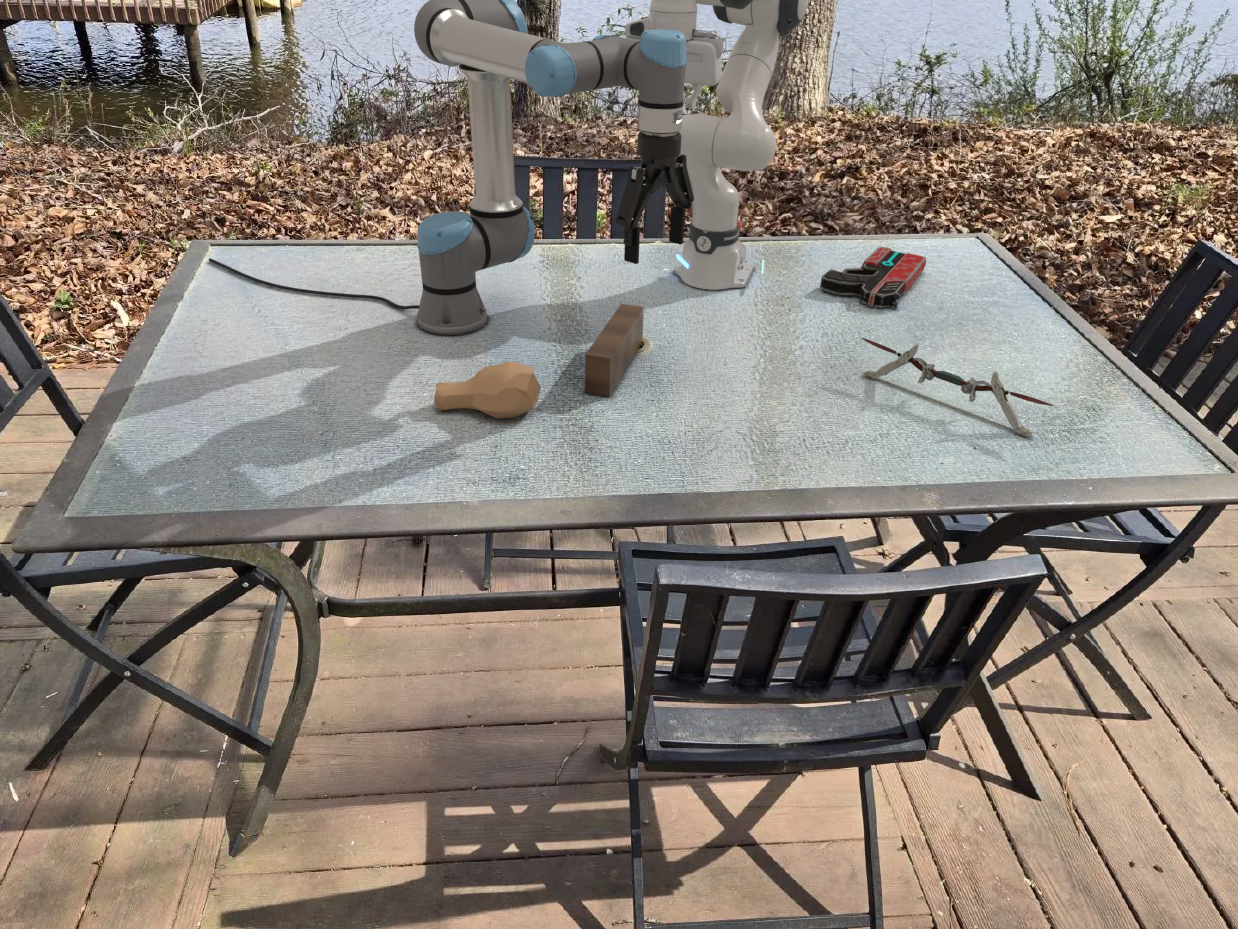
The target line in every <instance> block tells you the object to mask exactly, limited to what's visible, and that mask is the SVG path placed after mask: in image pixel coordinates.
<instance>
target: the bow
mask: <svg viewBox="0 0 1238 929" xmlns="http://www.w3.org/2000/svg"><path fill="white" fill-rule="evenodd" d="M861 340H862V341H864V342H866V343H868V344H870V345H872V346H874V347H876V348H878V349H880V350H882V351H885V352H888V353H890V354H893V355H896V356H897V357H898V358H897V359H896V360H892V361H890V362H888V363H885V364H884V365H882V366H881V367H879V368H878V369H877V370H874V371H873V370H865V371H864V372H863V375H864V376H865V377H866V378H869V379H875V380H879V381H881V382H882V383H886V384H889V385H891V386H894V387H897V388H900V389H902V390H905V391H908V392H910V393H913V394H915V395H918V396H921V397H923V398H926V399H928V400H931V401H934V402H937V403H940V404H942V405H945V406H947V407H950V408H953V409H955V410H957V411H962V412H964V413H966V414H969V415H970V416H973V417H977V418H978V419H979V418H980V419H982V420H984V421H987V422H990V423H993V424H994V425H997V426H1000V427H1003V428H1006V429H1008V430H1011V431H1014V432H1015V433H1017V434H1018V435H1020V436H1023V437H1030V436H1031V435H1032V434H1033V432H1031V431H1030V430H1028V429H1027V428H1026V427H1025V426H1023V425H1022V424H1021V420H1020V418H1019V415H1018V414H1017V412H1016V410H1015V408H1014V407H1013V405H1012V403H1011V402H1010V401H1009V399H1008V397H1007V396H1008V395H1010V396H1012V397H1015V398H1017V399H1021V400H1022V401H1023V400H1024V401H1027V402H1031V403H1033V404H1038V405H1043V406H1049V407H1054V406H1055V404H1052V403H1049V402H1047V401H1044V400H1041V399H1038V398H1035V397H1033V396H1029V395H1025V394H1022V393H1019V392H1014V391H1009V390H1006V389H1005V388H1004V385H1005V384H1003V383H1002V381H1001V379H1000V377H999V372H998V371H997V370H995V371H994V372H992V375H991V378H990V382H988V381H986V380H977V379H975V378H974V377H971V378H970V379H968V380H967V381H966V380H965V379H964V378H963V377H961V376H960V375H957V374H954V373H952V372H948V371H945V370H937V369H935V366H936V365H935V363H929V364H928V363H927V362H926V361H925V360H924V359H923V358H920V357H915V355H917V352H918V349H919V343H915V344H914V345H913V346H912V347H911V348H910V349H908V350H906V351H904V352H903V353H901V352H897V351H896V350H894V349H892V348H890V347H888V346H886V345H884V344H881V343H878V342H876V341H873V340H870V339H866V338H865V337H861ZM907 364H912V366H914V367H915V368H916V369H918V371H920V372H921V374H920V377H919V378H918V380H917V383H919V384H921V385H923V383H925V380H927V381H932V380H933V379H934V378H936V379H939V380H942V381H944V382H947V383H950V384H953V385H955V386H958V387H961V388H960V390H961V392H962V393H963V394H964V395H965V394H966V395H969V396H968V402H970V403H973V402H975V401H976V397H977V395H976V392H991V393H992V394H993V396H994V398H995V399H996V400H997V402H998V403H999V405H1000V408H1001V410H1002V413H1003V414H1004V416H1005V417H1006V420H1007V422H1008V424H1009V425H1010V427H1008V426H1006V425H1003V424H1001V423H998V422H995V421H993V420H990V419H987V418H984V417H983V416H979V415H976V414H973V413H971V412H969V411H966V410H964V409H961V408H958V407H955V406H952V405H950V404H947V403H945V402H942V401H939V400H937V399H934V398H932V397H929V396H926V395H923V394H920V393H918V392H915V391H913V390H910V389H907V388H904V387H902V386H899V385H897V384H895V383H892V382H889V381H886V380H883V379H881V377H883V376H888V375H889V374H891V373H892V372H893V371H895V370H896V369H898V368H901V367H902V366H904V365H907Z"/></svg>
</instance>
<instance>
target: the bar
mask: <svg viewBox="0 0 1238 929" xmlns="http://www.w3.org/2000/svg"><path fill="white" fill-rule="evenodd" d="M644 312H645V306H642V305H634V304H626V303H620V304H619V306H618V308H617V309H616V310H615V312H614V313H613V315H612V316H611V317H610V319H609V320H608V322H607V323H606V324H605V326H604V327H603V329H602V330H601V331H600V333H599V334H598V336H597V337H596V339H595V340H594V341H593V343H592V344H591V346H590V347H589V348H588V350H587V351H586V353H585V354H584V394H587V395H594V396H599V397H600V396H601V397H605V398H610V397H611V396H612V394H613V392H614V391H615V389H616V387H617V386H618V384H619V382H620V381H621V379H622V377H623V376H624V374H625V373H626V371H627V369H628V367H629V365H630V364H631V362H632V361H633V359H634V357H635V356H636V354H637V352H638V351H639V349H640V348H641V346H642V344H643V338H644V337H643V336H644V335H643V334H644V317H645V316H644V314H645V313H644Z"/></svg>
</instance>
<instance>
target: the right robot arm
mask: <svg viewBox="0 0 1238 929" xmlns="http://www.w3.org/2000/svg"><path fill="white" fill-rule="evenodd" d="M809 1H810V0H651V2H650V4H649V15H648V16H644V17H641V18H640V19H637V20H634V21H631V22H628V23H626V24H625V25H624V33H625V35H626V38H628V39H634V40H639V41H641V35H642V33H643V32H644V31H647V30H654V29H665V30H675V31H679V32H681V33H683V34H684V35H685V38H686V59H687V64H686V71H685V82H684V84H687V85H691V91H693V92H692V94H691V96H689V97H687V98H685V106H684V107H685V109H690V110H693V109H695V108H696V106H697V98H698V97H699V96H700V94H701V92H702V91H703V88H704V87H703V86H706V87H713V86H715V85H717V86H716V96H717V100H718V102H719V104H720V105H721V106H722V108H724V110H725V111H727V112H728V113H729V114H730V115H729V116H717V115H709V114H704V113H693V114H682V129H681V130H680V131H679V133H680V134H681V136H682V137H681V153H680V154H684V155H686V157H687V171H688V175H689V179H690V183H691V187H692V191H693V195H694V201H693V202H692V208H691V209H692V212H691V213H692V214H691V221H690V223H689V227H688V240H686V241H685V242H683V244H682V250H681V251H682V252H681V255H680V254H678V253H677V254H676V257H675V258H676V259H677V260H678V261H679V262H680V265H679V266H677V267H676V268H675V270H674V273H675V274H676V275H677V276H679V277H680V279H681V281H682V282H683V283H684V284H686V285H688V286H691V287H692V288H693V287H694V288H697V289H701V290H712V291H713V290H714V291H717V290H726V289H733V288H734V289H739V288H744V287H745V286H746V284H747V283H748V280H749V279H750V276H751V274H752V272H753V270H754V264H753V262H750V261H747V260H746V259H747V258H746V257H747V247H746V246H745V244H743V242H742V241H741V240H740V230H741V229H742V227H743V221H741V220H738V219H739V208H740V201H741V200H740V194H739V191H738V189H737V188H736V187H735V186H734V184H732V183H731V182H730V181H728V180H727V178H726V177H725V176H724V174H723V172H722V170H721V169H727V170H731V171H732V170H733V171H737V172H738V171H739V172H758V171H763V170H765V169H766V168H767V167H769V165H771V163H772V161H773V159H774V157H775V155H776V151H777V139H776V136H775V133H774V131H773V129H772V127H770V125H769V124H768V123H767V122H766V120H765V118H764V115H763V104H764V100H765V96H766V93H767V90H768V87H769V85H770V82H771V78H772V76H773V74H774V69H775V66H776V62H777V58H778V53H779V47H780V40H779V37H781V38H786V37H788V35H790V33H791V31H793V30H795V29H796V28H797V27H798V26H799V25H800V24H801V22H802V21H803V20H804V18H805V16H806V12H807V11H808V6H809ZM698 5H704V6H712V10H713V13H714V15H715V17H716V18H717V19H718V20H719V21H721V22H724V23H726V24H729V25H732V24H736V25H741V26H745V28H744V30H742V32H741V34H740V35H739V36H738V38H737V39H736V41H735V44H734V45H733V47H732V49H731V52H730V53H729V56H728V58H727V61H726V63H725V65H724V68H723V71H722V55H723V50H724V40H723V38H722V36H720V34H718V33H717V32H716V31H714V30H713V31H712V30H710V31H707V30H702V29H697V19H698V18H697V16H698ZM764 262H765V259H762V261H761V275H764Z"/></svg>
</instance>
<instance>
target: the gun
mask: <svg viewBox="0 0 1238 929" xmlns="http://www.w3.org/2000/svg"><path fill="white" fill-rule="evenodd" d="M926 266H927V257H925V256H923V255H919V254H914V253H910V252H906V253H905V252H901V251H896V250H892V248H891V247H886V246H878V247H877V248H876V249H875V250H874V251H873V252H872V253H871V254H870V255H869V256H868V257H866V259H864V261H863V263H862V265H861V266H860V267H854V268H844V269H843V270H842V271H839V270H835V269H832V268H830V269H829V270H828V271H826V272H825V273H824V274H822V275H821V278H820V282H819V283H820V284H819V289H820V290H822V291H824V292H828V293H831V294H835V295H841V296H859V298H858V301H860V302H861V303H862V304H863V305H867V307H870V308H872V307H875V308H879V309H882V308H888V307H889V308H892V309H893V308H894V309H897V308H898V305H899V302H897V301H898V300H899V299H900V298H901V296H904V295H905V294H906V293H907V292H908V291H909V290H910V289H911V288H912V286H913V285H914V284H915V283H916V281H917V280H918V278H920V275H921V274H922V273H923V272H924V270H925V268H926Z"/></svg>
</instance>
